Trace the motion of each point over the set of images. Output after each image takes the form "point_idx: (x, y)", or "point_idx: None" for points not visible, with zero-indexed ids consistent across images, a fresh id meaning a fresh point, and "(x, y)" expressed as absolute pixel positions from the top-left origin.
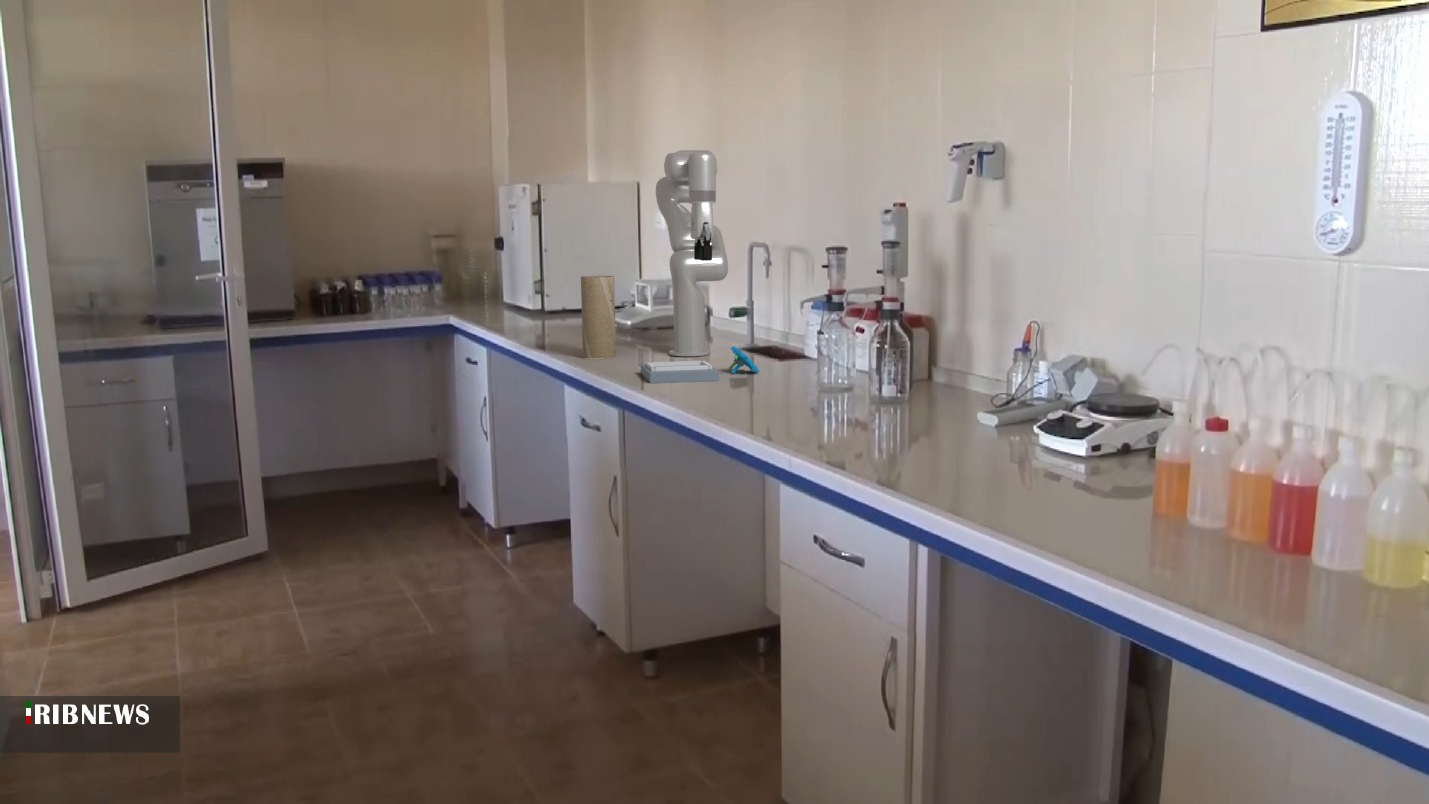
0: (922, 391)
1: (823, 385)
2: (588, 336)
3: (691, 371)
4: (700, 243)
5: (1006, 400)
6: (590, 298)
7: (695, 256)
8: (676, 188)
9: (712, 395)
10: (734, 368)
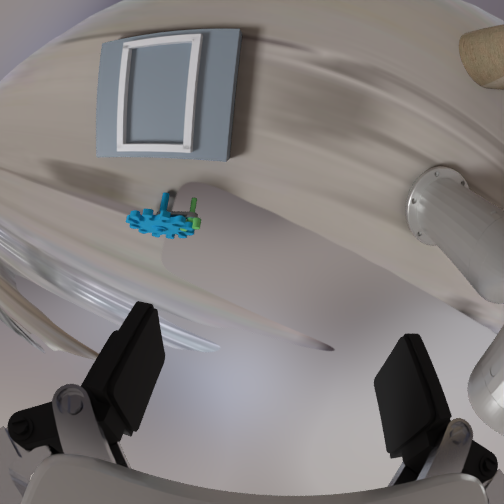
0: (45, 318)
1: (63, 267)
2: (491, 27)
3: (102, 110)
4: (415, 457)
5: (25, 333)
6: None
7: (407, 351)
8: None
9: (16, 130)
10: (162, 199)
